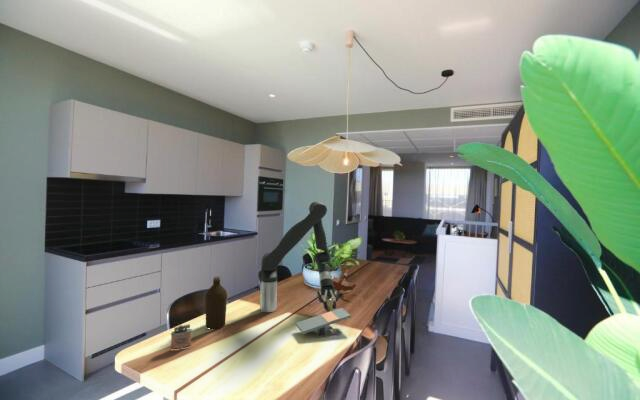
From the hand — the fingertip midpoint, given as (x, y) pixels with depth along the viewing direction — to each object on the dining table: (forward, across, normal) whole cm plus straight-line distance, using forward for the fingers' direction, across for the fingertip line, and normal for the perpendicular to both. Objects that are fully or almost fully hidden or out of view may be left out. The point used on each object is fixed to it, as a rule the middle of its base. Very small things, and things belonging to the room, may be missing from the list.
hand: (330, 308), depth 158 cm
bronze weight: (+2, 0, +4) cm, 5 cm away
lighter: (+18, -72, -9) cm, 75 cm away
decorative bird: (-24, +19, +32) cm, 44 cm away
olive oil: (+4, -60, +6) cm, 61 cm away
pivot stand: (+14, -7, -6) cm, 17 cm away
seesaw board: (+10, -7, -9) cm, 15 cm away
